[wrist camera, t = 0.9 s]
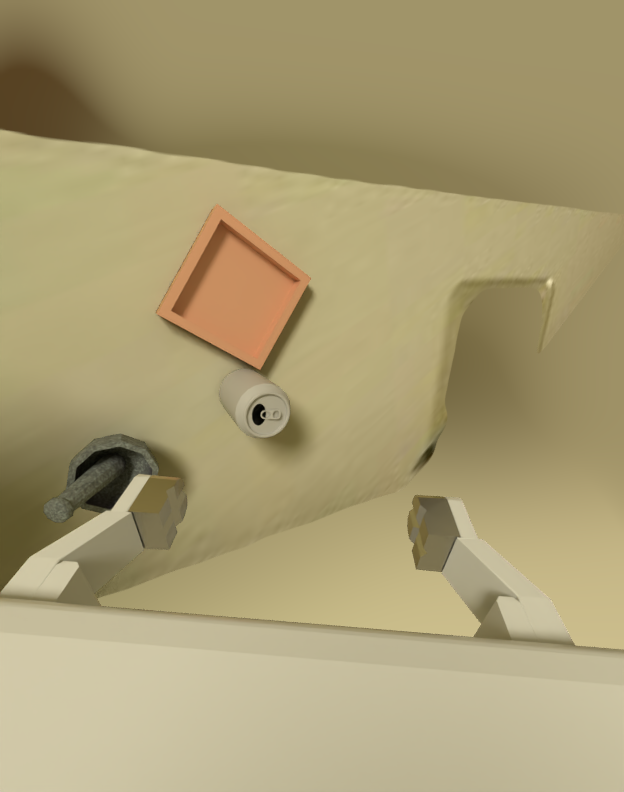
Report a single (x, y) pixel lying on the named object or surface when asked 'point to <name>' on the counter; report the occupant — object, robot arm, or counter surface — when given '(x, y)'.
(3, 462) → the counter surface
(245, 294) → the dish
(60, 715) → the robot arm
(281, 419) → the can
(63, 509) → the mortar and pestle
